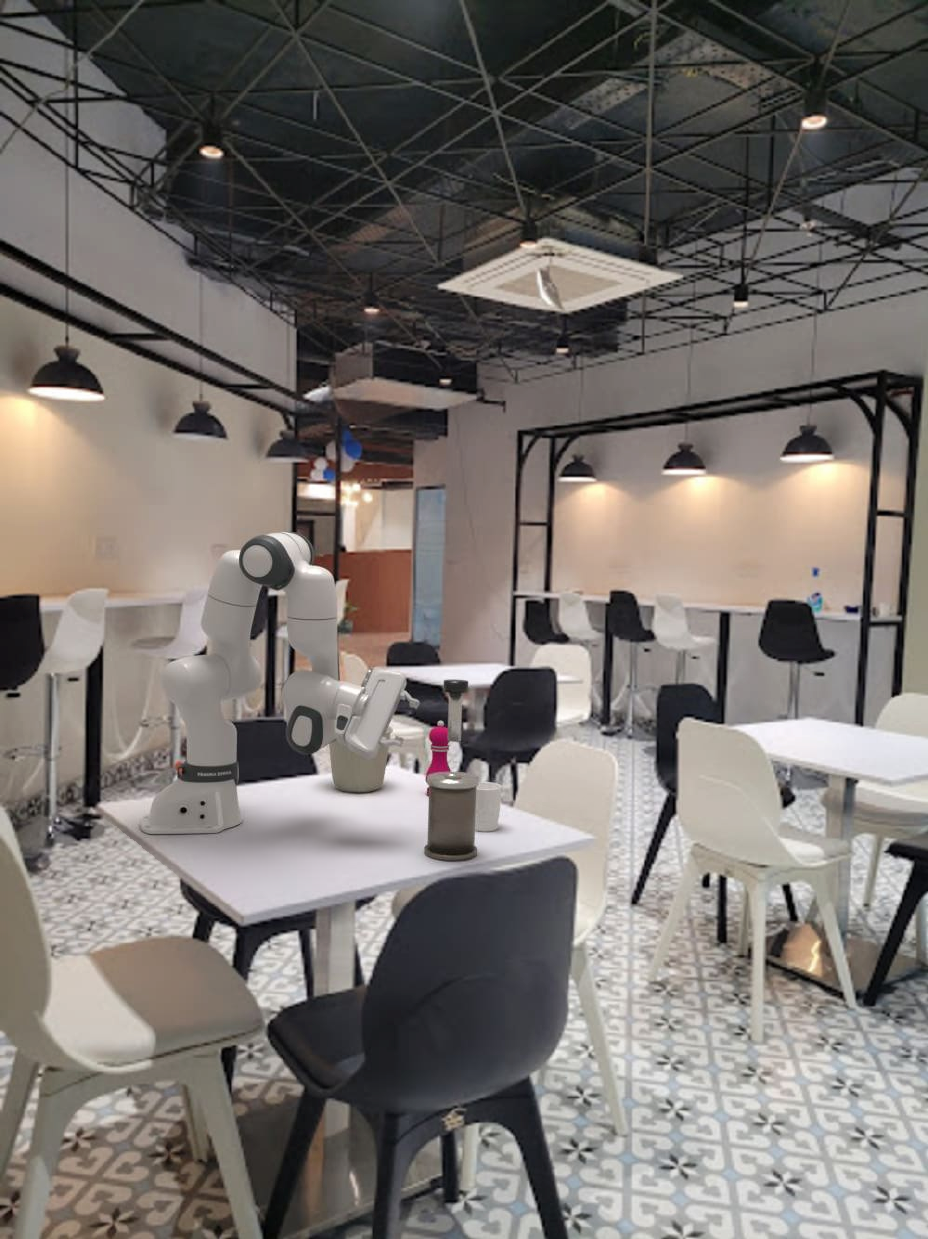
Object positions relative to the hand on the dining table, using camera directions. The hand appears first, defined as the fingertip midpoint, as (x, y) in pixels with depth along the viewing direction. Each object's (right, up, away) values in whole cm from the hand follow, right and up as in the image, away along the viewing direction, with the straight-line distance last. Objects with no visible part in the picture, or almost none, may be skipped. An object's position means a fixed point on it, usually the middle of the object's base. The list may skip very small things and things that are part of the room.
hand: (410, 723), depth 197 cm
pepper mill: (+5, -24, +44) cm, 51 cm away
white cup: (+16, -26, +14) cm, 34 cm away
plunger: (+10, -3, -7) cm, 12 cm away
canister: (-17, -23, +48) cm, 57 cm away
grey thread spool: (+9, -27, -6) cm, 29 cm away
